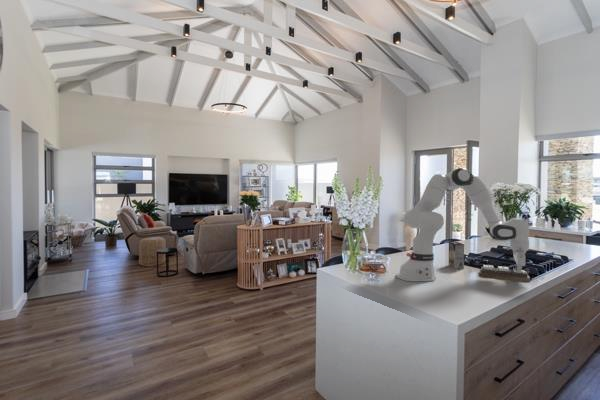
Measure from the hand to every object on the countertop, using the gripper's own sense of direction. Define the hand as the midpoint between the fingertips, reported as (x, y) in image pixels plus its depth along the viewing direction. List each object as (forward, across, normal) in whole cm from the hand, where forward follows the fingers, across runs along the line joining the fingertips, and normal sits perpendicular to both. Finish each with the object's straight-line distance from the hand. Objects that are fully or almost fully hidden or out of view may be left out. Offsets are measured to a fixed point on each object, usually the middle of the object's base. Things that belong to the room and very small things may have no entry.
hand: (519, 270), depth 174 cm
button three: (+1, 0, +15) cm, 15 cm away
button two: (+2, 0, 0) cm, 2 cm away
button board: (+5, 0, +8) cm, 9 cm away
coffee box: (+5, +13, +33) cm, 36 cm away
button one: (+1, 0, +7) cm, 8 cm away
